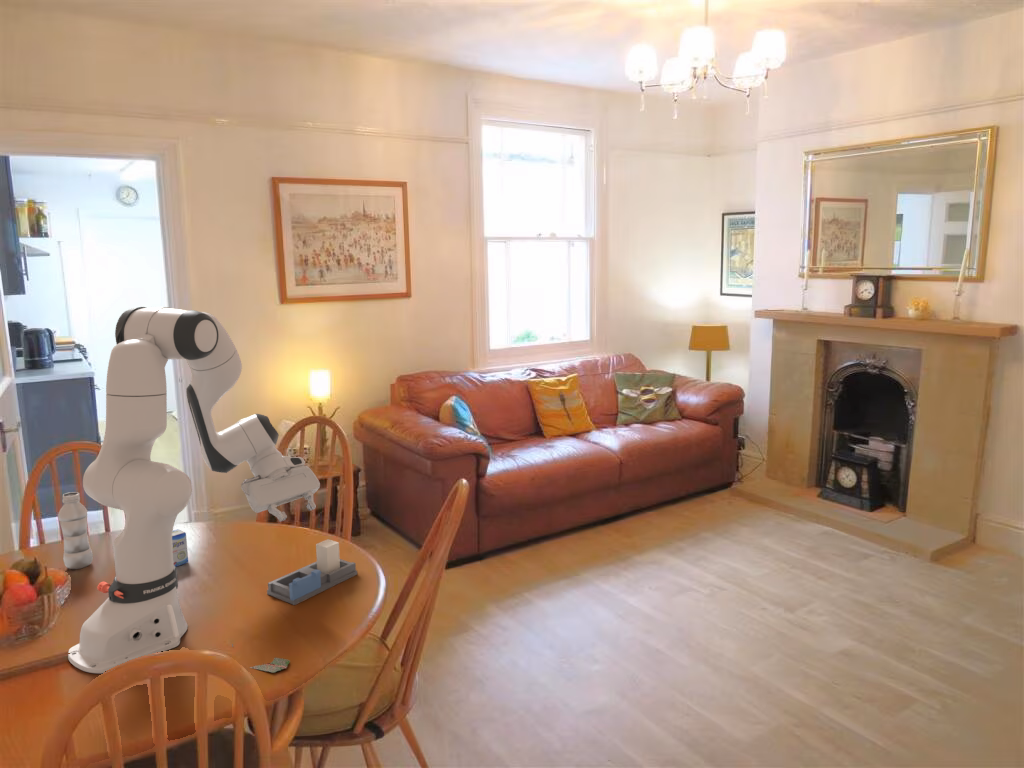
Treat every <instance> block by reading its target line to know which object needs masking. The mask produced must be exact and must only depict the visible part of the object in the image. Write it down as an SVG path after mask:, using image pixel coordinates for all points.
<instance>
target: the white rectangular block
mask: <svg viewBox="0 0 1024 768" xmlns="http://www.w3.org/2000/svg"><path fill="white" fill-rule="evenodd" d="M315 550H316V552H315V553H316V561H317V570H320V571H321V572H323V573H326V574H328V573H330V572H332V571H335V570H337V569H339V568H340V559H341V557H340V543H339V542H338V541H336V540H332V539H330V538H329V539H328V538H327V539H325V540H322V541H320V542H318V543H316V544H315Z"/></svg>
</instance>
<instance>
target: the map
mask: <svg viewBox="0 0 1024 768" xmlns="http://www.w3.org/2000/svg"><path fill="white" fill-rule="evenodd" d="M231 645H232V647H234V644H233V643H232V644H231ZM290 662H291V661H290V659H286V658H280V657H274V658H273V660H272V661H271V662H270V663H269V662H267V663H263V664H259V665H254V666H250V667H249V668H250V669H255V670H258V671H264V672H269V673H276V672H279V671H282V670H284V669H287V668H288V667H289V666H288V665H289V664H290Z"/></svg>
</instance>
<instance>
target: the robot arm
mask: <svg viewBox="0 0 1024 768" xmlns="http://www.w3.org/2000/svg"><path fill="white" fill-rule="evenodd" d="M114 334H115V335H114V337H115V342H116V343H115V346H114V347H113V348H112V349H111V352H110V356H109V361H108V366H107V373H106V382H105V383H106V385H105V393H106V394H105V431H104V436H103V441H102V445H101V447H100V450H99V453H98V455H97V457H96V458H95V459H94V460H93V461H92V462H91V463H90V464H89V465H88V466H87V468H86V469H85V472H84V473H83V477H82V486H83V490H84V492H85V494H86V495H87V496H88V497H89V498H91V499H92V500H94V501H95V502H97V503H99V504H100V505H102V506H103V507H107V508H112V509H116V510H120V511H123V513H124V515H125V521H124V522H125V524H124V527H123V528H124V529H123V531H122V532H120V534H119V535H117V536H116V538H115V539H114V541H113V543H112V553H113V563H114V571H115V576H114V578H113V581H112V583H108V582H106V581H101V582H99V583H98V585H96V589H97V591H99V592H101V593H102V594H107V593H108V597H107V598H106V599H105V601H103V603H101V605H100V606H98V608H97V609H96V610H95V611H94V612H93V613H92V614H91V615H90V616H89V617H88V618H87V619H86V620H85V621H84V622H83V624H82V626H81V627H80V633H79V643H77V644H75V645H73V646H72V647H70V648H69V649H68V652H67V659H68V661H69V662H70V664H72V665H73V666H74V667H75V668H77V669H78V670H81V671H83V672H86V673H90V674H105V673H106V672H105V671H107V670H109V669H111V668H113V667H115V666H117V665H120V664H122V663H125V662H127V661H129V660H132V659H135V658H138V657H141V656H144V655H148V654H152V653H156V652H160V653H162V652H161V651H163V652H166V651H168V650H171V649H174V648H176V647H178V646H179V645H180V644H181V638H182V637H183V636H184V634H185V633H186V632H187V630H188V626H189V625H188V623H187V621H186V619H185V617H184V614H183V610H182V607H181V603H180V599H179V596H178V595H179V594H178V590H177V589H178V587H179V583H178V571H177V567H175V565H174V562H173V547H172V532H173V531H174V526H175V522H176V519H177V516H178V515H179V513H181V512H182V511H183V510H185V508H186V507H187V506H188V504H190V503H189V502H190V500H191V499H192V495H193V485H192V484H193V483H192V481H191V478H190V477H189V475H188V474H187V473H186V472H184V471H182V470H181V469H178V468H177V467H174V466H173V465H170V464H168V463H164V462H158V461H153V460H151V454H152V450H153V446H154V444H155V442H156V440H157V439H159V438H161V436H162V435H163V434H164V433H165V432H166V429H167V426H168V425H167V424H168V423H167V421H168V420H167V419H168V418H167V415H168V413H167V410H168V409H167V407H168V405H167V404H168V403H167V400H168V399H167V376H166V366H167V363H168V361H169V360H185V361H186V363H187V365H188V367H189V369H190V372H191V373H190V374H191V380H190V383H189V384H188V386H187V387H186V388H185V389H186V399H187V403H188V407H189V411H190V413H191V418H192V420H193V424H194V426H195V430H196V431H195V432H196V434H197V437H198V441H199V445H200V452H201V456H202V459H203V461H204V463H205V465H206V467H208V469H210V471H212V472H216V473H222V474H227V473H229V472H231V471H232V470H233V469H235V468H237V467H238V466H239V465H240V464H242V463H244V462H247V464H248V465H249V469H250V471H251V473H252V475H253V477H251V478H247V479H244V480H243V482H241V484H240V485H241V486H240V487H241V490H242V492H243V494H245V497H246V499H247V503H248V505H249V506H250V508H251V510H252V511H253V512H255V513H256V514H259V513H261V512H264V511H268V512H269V514H271V515H272V516H275V517H276V518H277V520H278V521H279V522H283V521H286V519H287V518H288V515H287V513H286V512H285V511H281V510H279V509H278V508H277V507H280V506H282V505H285V504H287V503H290V502H293V501H296V500H300V499H302V498H304V499H305V500H307V505H306V506H305V507H306V508H307V510H308V511H309V512H310V511H313V510H315V509H316V507H317V505H316V503H315V501H314V494H315V493H317V491H318V490H319V489H320V487H321V483H320V480H319V479H318V477H317V475H316V474H315V473H314V471H313V470H312V469H311V468H310V467H309V466H307V465H305V464H306V461H305V459H304V458H303V457H302V456H301V457H300V456H298V457H297V456H287V455H283V454H282V452H281V451H279V449H277V448H276V445H277V442H278V441H279V440H278V438H279V436H280V435H279V432H278V431H277V429H276V428H275V427H274V426H273V424H272V422H271V421H270V418H269V417H268V415H264V414H261V413H254V414H251V415H249V416H246V417H244V418H241V419H239V420H238V421H236V422H235V423H234V424H232V425H230V426H228V427H226V428H225V429H222V430H220V431H216V427H215V424H214V420H213V416H212V411H213V409H214V407H215V406H216V404H217V403H218V402H219V401H220V400H221V398H223V396H224V395H226V393H228V392H229V391H230V390H231V389H232V388H234V386H235V385H236V384H237V381H238V380H239V378H240V377H241V374H242V369H243V363H242V361H241V358H240V357H241V356H240V355H239V352H238V349H237V348H236V346H235V344H234V342H233V340H232V338H231V336H230V335H229V333H228V332H227V330H226V328H225V327H224V326H223V324H222V323H221V321H220V320H219V319H218V318H217V317H216V316H215V315H214V314H211V313H209V312H206V311H198V310H194V309H189V310H186V309H181V308H180V309H179V308H173V307H168V306H167V307H166V306H153V307H152V306H151V307H145V306H140V307H133V308H129V309H128V310H125V311H123V313H121V315H120V316H119V318H118V319H117V322H116V325H115V331H114ZM68 653H70V654H68ZM104 672H105V673H104Z"/></svg>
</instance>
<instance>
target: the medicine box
mask: <svg viewBox="0 0 1024 768" xmlns="http://www.w3.org/2000/svg"><path fill="white" fill-rule="evenodd" d="M172 547H173V562H174V565H175V567H176V568H177V567H179V566H183V565H186V564H188V563H189V553H188V542H187V532H185V531H184V530H182V529H173V532H172Z"/></svg>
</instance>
